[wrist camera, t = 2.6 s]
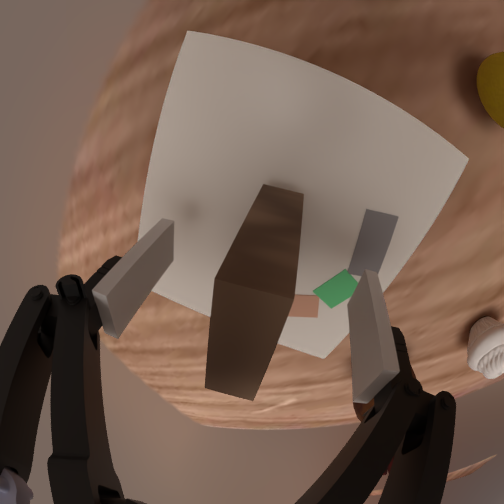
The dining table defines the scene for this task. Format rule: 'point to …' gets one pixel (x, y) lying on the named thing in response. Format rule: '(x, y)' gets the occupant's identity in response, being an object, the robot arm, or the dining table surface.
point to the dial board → (290, 177)
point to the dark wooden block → (254, 293)
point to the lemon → (492, 86)
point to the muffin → (486, 347)
